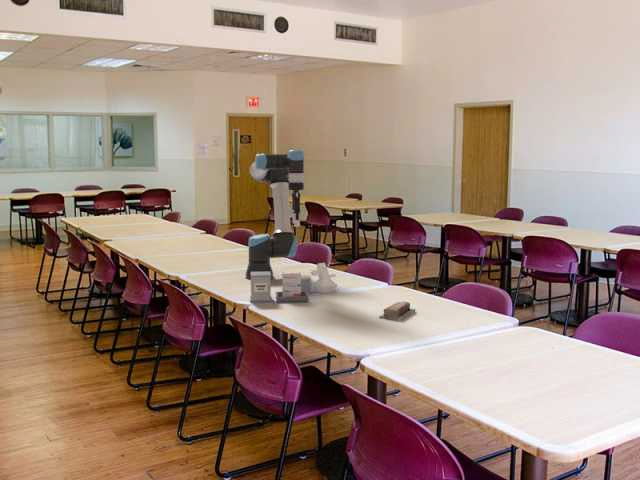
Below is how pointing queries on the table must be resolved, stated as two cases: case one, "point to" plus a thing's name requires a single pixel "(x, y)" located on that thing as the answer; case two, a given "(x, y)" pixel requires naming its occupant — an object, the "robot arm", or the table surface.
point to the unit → (260, 287)
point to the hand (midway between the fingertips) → (296, 225)
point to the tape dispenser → (323, 280)
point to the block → (306, 283)
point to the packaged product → (397, 311)
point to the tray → (292, 299)
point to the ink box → (291, 284)
